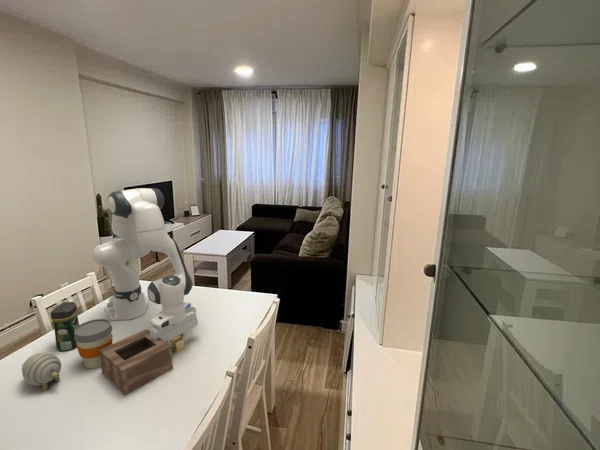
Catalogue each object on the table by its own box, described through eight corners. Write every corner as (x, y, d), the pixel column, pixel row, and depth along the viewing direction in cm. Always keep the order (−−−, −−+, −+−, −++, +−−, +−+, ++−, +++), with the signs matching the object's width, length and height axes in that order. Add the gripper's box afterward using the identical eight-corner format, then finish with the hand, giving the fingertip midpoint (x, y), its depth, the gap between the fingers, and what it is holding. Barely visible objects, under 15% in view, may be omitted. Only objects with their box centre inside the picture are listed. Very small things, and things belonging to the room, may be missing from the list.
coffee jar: (65, 339, 142) (58, 300, 137) (85, 337, 143) (79, 299, 138) (53, 352, 132) (45, 311, 128) (74, 351, 134) (67, 310, 129)
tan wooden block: (168, 347, 138) (168, 337, 136) (176, 343, 140) (175, 333, 139) (177, 353, 134) (176, 342, 133) (184, 349, 137) (183, 338, 136)
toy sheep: (44, 368, 123) (39, 342, 121) (77, 378, 119) (72, 352, 116) (13, 387, 114) (6, 359, 111) (47, 399, 109) (42, 371, 106)
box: (102, 373, 122) (99, 349, 119) (148, 350, 136) (146, 328, 133) (125, 395, 111) (122, 370, 109) (172, 368, 125) (171, 345, 123)
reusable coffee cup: (76, 375, 120) (70, 339, 117) (80, 355, 131) (75, 322, 127) (115, 365, 126) (110, 331, 122) (116, 347, 137) (112, 315, 133)
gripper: (191, 303, 143) (192, 330, 147) (146, 322, 127) (149, 352, 131) (199, 307, 140) (201, 335, 143) (154, 327, 124) (157, 359, 127)
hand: (176, 344), depth 137 cm, fingers closed on tan wooden block, 3 cm apart
